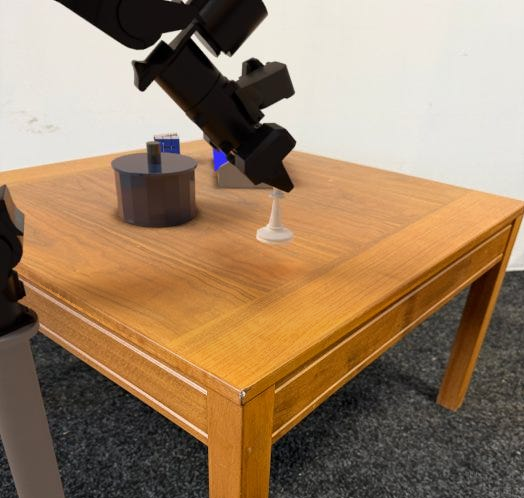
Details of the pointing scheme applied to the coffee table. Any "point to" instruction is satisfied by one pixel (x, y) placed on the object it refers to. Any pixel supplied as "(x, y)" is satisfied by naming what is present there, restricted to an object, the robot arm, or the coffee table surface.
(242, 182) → the toy house
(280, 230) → the chess piece
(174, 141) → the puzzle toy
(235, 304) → the coffee table surface
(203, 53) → the robot arm
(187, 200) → the pot
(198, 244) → the coffee table surface
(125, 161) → the pot lid
